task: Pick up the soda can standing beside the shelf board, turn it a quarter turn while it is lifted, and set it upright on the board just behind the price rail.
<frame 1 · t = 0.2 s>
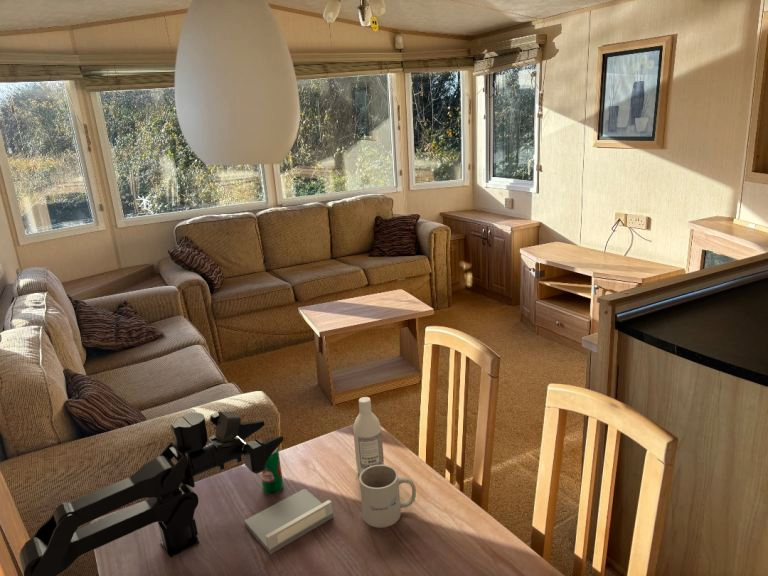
hand: (273, 430, 131), 17 cm above the table, tool horizontal, fingers open, 9 cm apart
bath foam: (370, 470, 141), on the table
shelf: (289, 521, 125), on the table
mug: (390, 514, 125), on the table
soda can: (273, 489, 137), on the table
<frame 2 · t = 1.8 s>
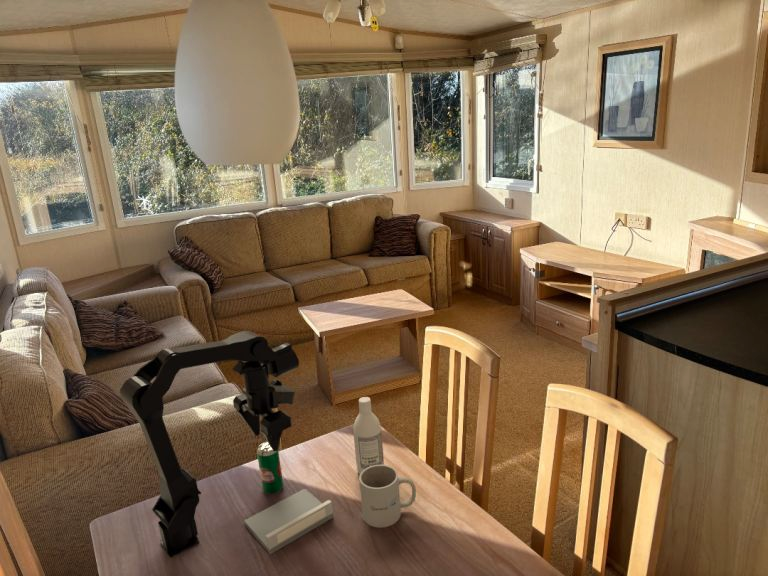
hand: (266, 442, 133), 13 cm above the table, tool pointing down, fingers open, 9 cm apart
nothing on the table moved.
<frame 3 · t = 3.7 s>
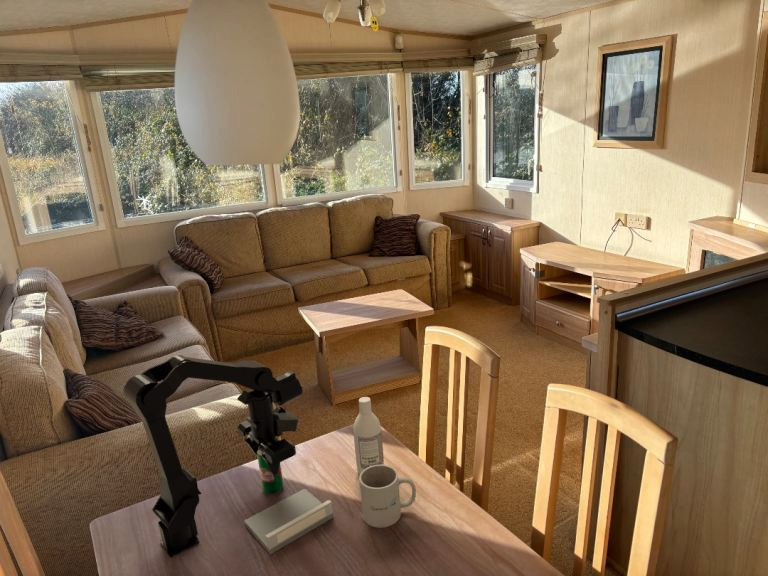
hand: (270, 469, 135), 6 cm above the table, tool pointing down, fingers closed on soda can, 5 cm apart
soda can: (273, 489, 137), on the table, touching gripper
everything else where it was.
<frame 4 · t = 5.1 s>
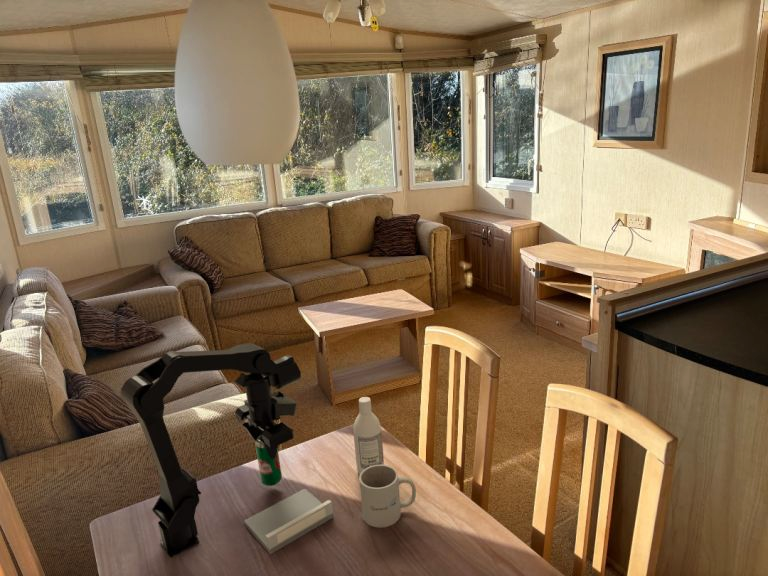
hand: (268, 453, 134), 10 cm above the table, tool pointing down, fingers closed on soda can, 5 cm apart
soda can: (272, 481, 136), point 2 cm above the table, touching gripper
everything else where it was.
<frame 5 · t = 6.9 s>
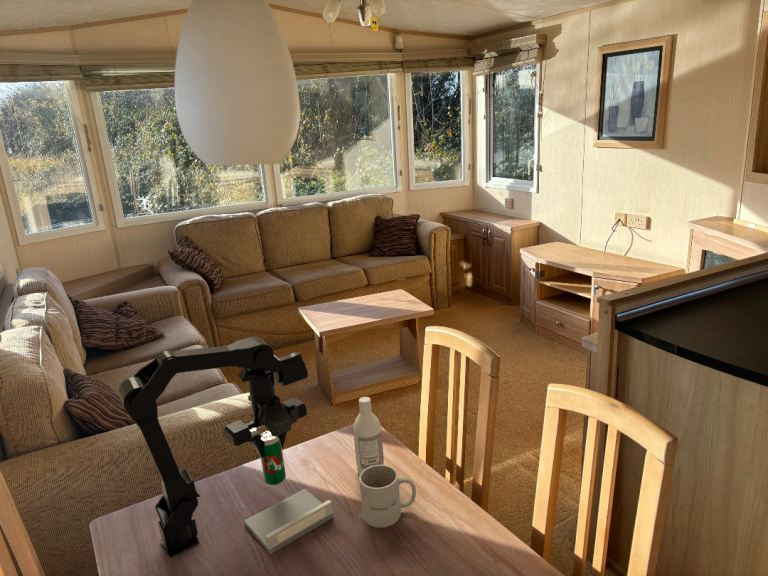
hand: (271, 452, 129), 13 cm above the table, tool pointing down, fingers closed on soda can, 5 cm apart
soda can: (275, 480, 131), point 5 cm above the table, touching gripper
everything else where it was.
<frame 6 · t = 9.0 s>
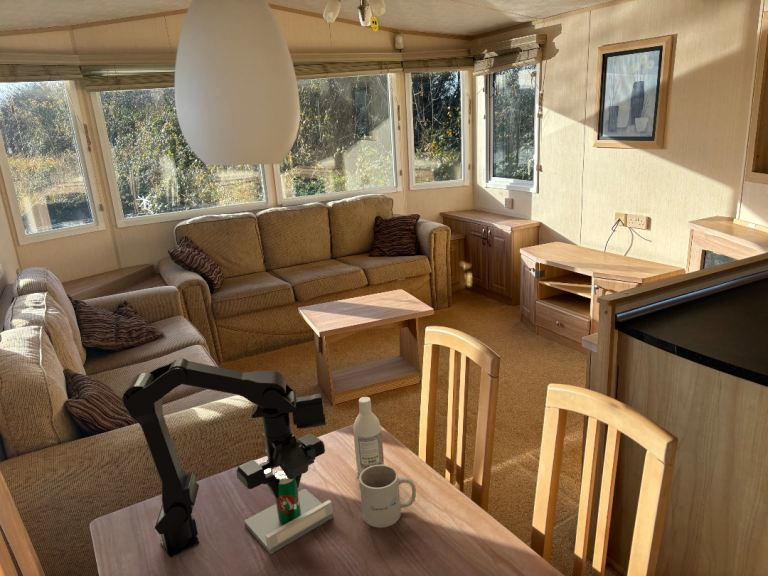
hand: (286, 492, 122), 8 cm above the table, tool pointing down, fingers closed on soda can, 5 cm apart
soda can: (290, 519, 124), point 1 cm above the table, touching gripper, shelf
everything else where it was.
when the fingers open (8 cm above the table, at t = 9.4 s): soda can stays where it is, resting on shelf.
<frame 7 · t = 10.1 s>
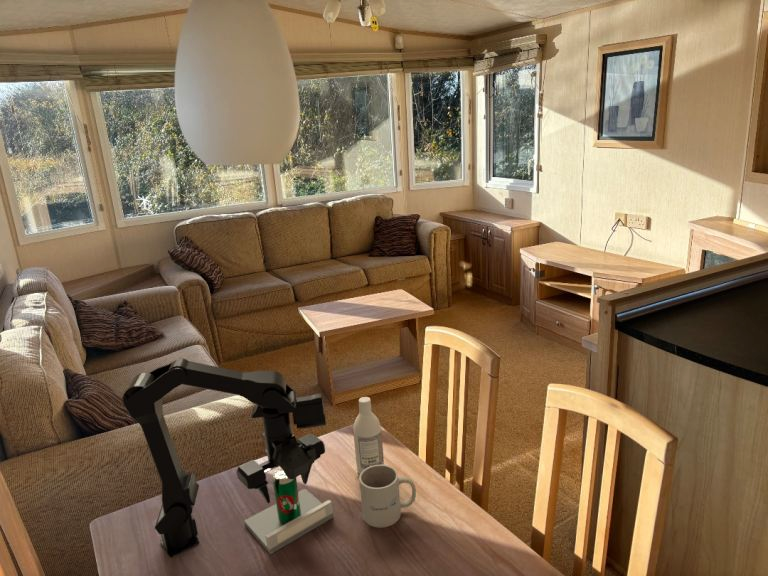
hand: (286, 492, 122), 8 cm above the table, tool pointing down, fingers open, 9 cm apart
soda can: (290, 519, 124), point 1 cm above the table, touching shelf
everything else where it was.
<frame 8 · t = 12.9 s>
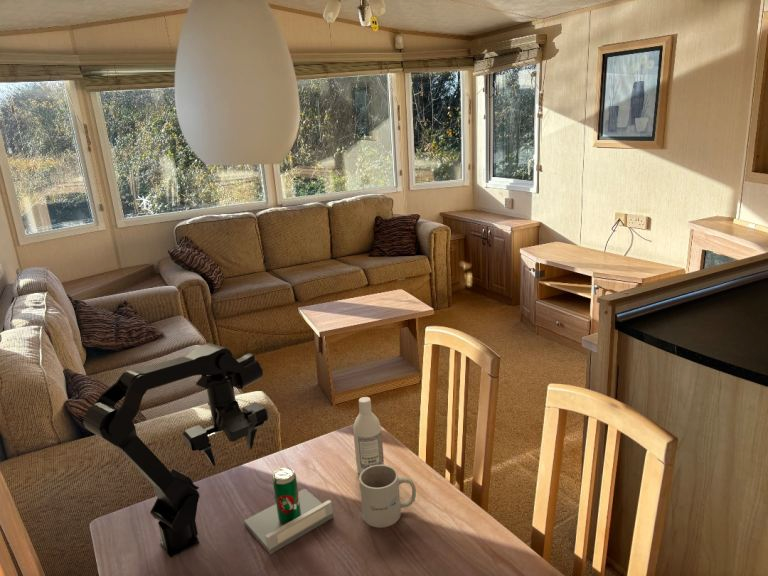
hand: (232, 456, 130), 12 cm above the table, tool pointing down, fingers open, 9 cm apart
nothing on the table moved.
at the end: soda can inside the target area on the shelf (0.7 cm from its centre), point 1.0 cm above the shelf's base; soda can tilted 0°; the gripper is holding nothing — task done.
